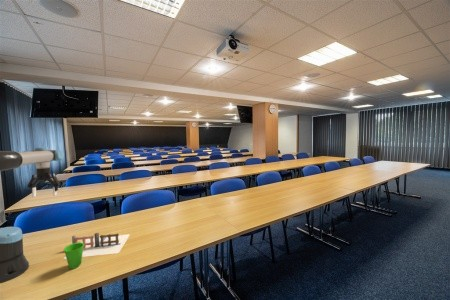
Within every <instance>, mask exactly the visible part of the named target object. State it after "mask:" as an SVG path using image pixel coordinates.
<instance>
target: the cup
mask: <svg viewBox="0 0 450 300" xmlns="http://www.w3.org/2000/svg"><path fill="white" fill-rule="evenodd" d="M83 246H84V243H82V242H81V241H78V243H73V244H72V243H71V244H69V245H67V246H65V247H64V248H63V252H64V254H65V257H66V258H67V259H66V262H67V264H68V268H69V269H70V270H74V269H77V268H79V267H80V266H81V265H82V261H83V260H82V259H83V257H82V253H83Z"/></svg>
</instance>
